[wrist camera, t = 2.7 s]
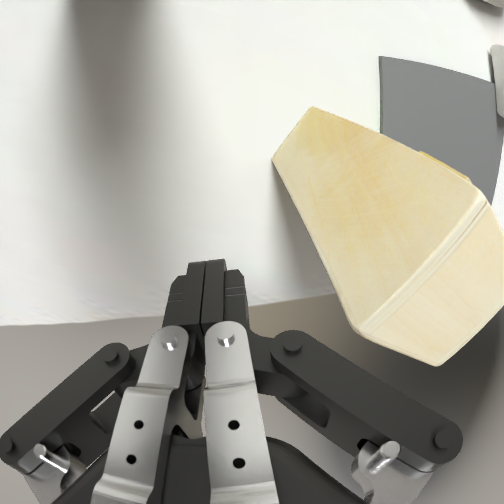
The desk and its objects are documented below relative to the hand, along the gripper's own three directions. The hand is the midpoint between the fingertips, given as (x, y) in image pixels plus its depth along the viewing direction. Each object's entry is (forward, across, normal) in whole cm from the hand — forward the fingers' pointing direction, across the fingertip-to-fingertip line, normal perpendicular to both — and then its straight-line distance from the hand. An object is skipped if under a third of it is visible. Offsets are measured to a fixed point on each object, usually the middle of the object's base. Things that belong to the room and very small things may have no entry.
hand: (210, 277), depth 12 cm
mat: (+17, -26, 0) cm, 31 cm away
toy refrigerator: (+17, -10, 0) cm, 20 cm away
